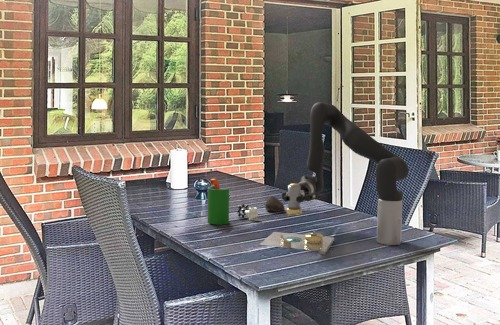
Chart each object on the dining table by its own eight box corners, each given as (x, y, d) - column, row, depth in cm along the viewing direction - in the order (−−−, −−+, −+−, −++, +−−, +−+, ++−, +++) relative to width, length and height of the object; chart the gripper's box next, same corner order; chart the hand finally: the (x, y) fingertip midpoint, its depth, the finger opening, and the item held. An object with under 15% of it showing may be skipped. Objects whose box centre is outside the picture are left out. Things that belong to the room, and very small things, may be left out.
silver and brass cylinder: (303, 212, 208) (303, 183, 206) (299, 215, 202) (299, 185, 201) (288, 211, 210) (288, 182, 208) (284, 214, 204) (285, 184, 202)
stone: (279, 215, 267) (265, 201, 268) (289, 205, 263) (275, 190, 264) (271, 223, 259) (257, 208, 260) (282, 212, 254) (268, 197, 256)
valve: (261, 222, 239) (248, 216, 249) (261, 208, 238) (248, 203, 248) (248, 224, 236) (236, 218, 246) (248, 209, 235) (236, 204, 245)
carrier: (334, 240, 210) (334, 229, 210) (324, 254, 192) (324, 242, 192) (273, 234, 218) (273, 224, 218) (259, 247, 201) (259, 236, 200)
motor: (233, 221, 240) (232, 178, 237) (221, 226, 232) (221, 180, 229) (214, 218, 245) (214, 176, 242) (203, 222, 238) (202, 178, 235)
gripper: (286, 181, 220) (274, 188, 204) (320, 183, 215) (310, 191, 200) (286, 198, 221) (274, 207, 205) (319, 201, 217) (310, 210, 201)
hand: (292, 199), depth 203 cm, fingers closed on silver and brass cylinder, 4 cm apart
